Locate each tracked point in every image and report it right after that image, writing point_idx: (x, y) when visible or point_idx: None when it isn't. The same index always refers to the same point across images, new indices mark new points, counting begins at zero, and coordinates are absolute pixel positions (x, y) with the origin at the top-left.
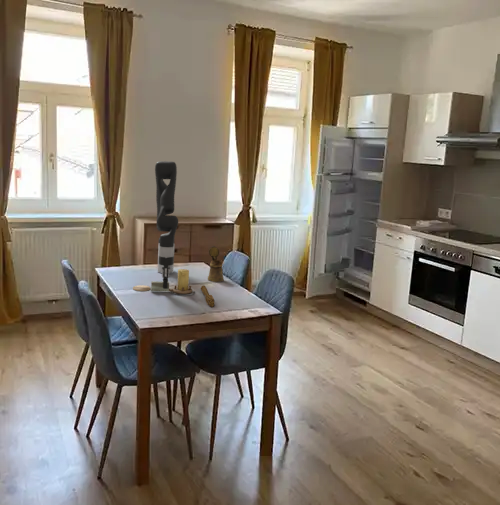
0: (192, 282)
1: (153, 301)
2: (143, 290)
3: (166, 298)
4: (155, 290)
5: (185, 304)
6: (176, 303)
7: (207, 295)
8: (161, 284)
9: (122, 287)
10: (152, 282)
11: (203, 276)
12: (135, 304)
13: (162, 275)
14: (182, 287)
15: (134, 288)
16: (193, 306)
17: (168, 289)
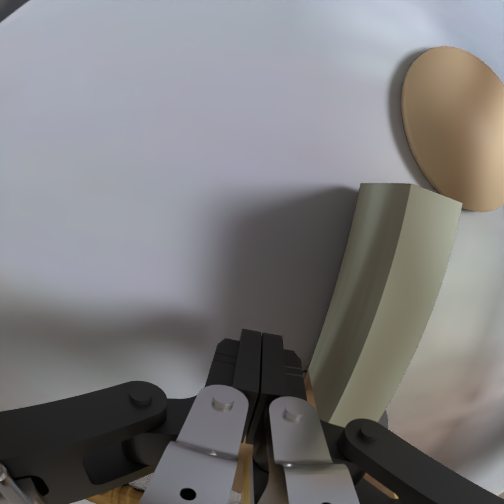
0: (458, 470)
1: (45, 165)
2: (404, 112)
3: (113, 297)
4: (351, 234)
5: (20, 368)
6: (21, 328)
7: (95, 496)
8: (353, 335)
9: (482, 13)
10: (405, 201)
11: (492, 480)
12: (26, 44)
13: (155, 475)
14: (243, 480)
15: (450, 53)
16: (8, 387)
17: (312, 376)
